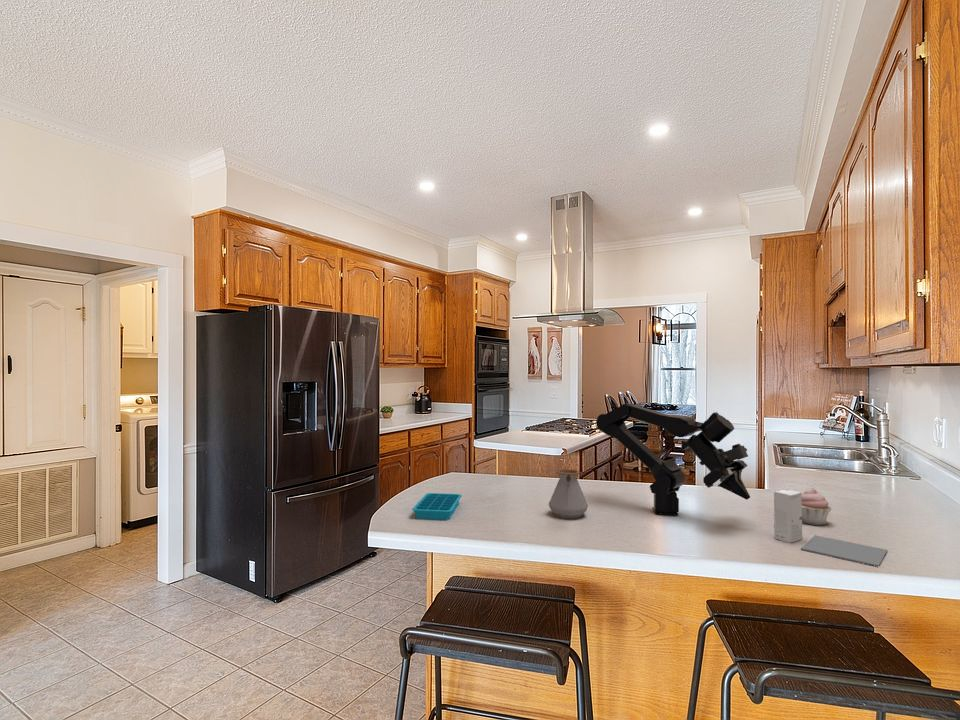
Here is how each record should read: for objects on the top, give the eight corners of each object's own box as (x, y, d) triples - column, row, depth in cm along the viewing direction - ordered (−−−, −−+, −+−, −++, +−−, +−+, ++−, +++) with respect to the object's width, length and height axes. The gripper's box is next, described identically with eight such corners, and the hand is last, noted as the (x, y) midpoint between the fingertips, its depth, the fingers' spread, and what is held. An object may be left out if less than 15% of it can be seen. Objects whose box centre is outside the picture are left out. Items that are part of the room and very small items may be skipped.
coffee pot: (549, 508, 160) (549, 460, 160) (587, 510, 158) (587, 461, 158) (546, 529, 139) (546, 474, 139) (590, 532, 137) (590, 475, 137)
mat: (800, 549, 125) (800, 548, 125) (814, 536, 135) (814, 535, 135) (878, 567, 114) (878, 565, 114) (887, 551, 124) (887, 549, 124)
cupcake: (818, 529, 141) (818, 492, 142) (786, 519, 150) (786, 485, 150) (839, 524, 145) (839, 489, 146) (806, 516, 154) (806, 482, 154)
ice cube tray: (411, 520, 148) (411, 509, 148) (426, 502, 168) (426, 492, 168) (451, 522, 146) (451, 511, 146) (462, 503, 166) (462, 494, 166)
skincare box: (791, 543, 130) (791, 495, 130) (773, 538, 133) (773, 491, 133) (803, 539, 133) (803, 492, 133) (785, 534, 137) (785, 488, 137)
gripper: (715, 437, 137) (760, 486, 129) (739, 431, 151) (782, 475, 143) (686, 463, 143) (727, 511, 135) (711, 455, 156) (751, 499, 148)
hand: (748, 498), depth 140 cm, fingers closed
